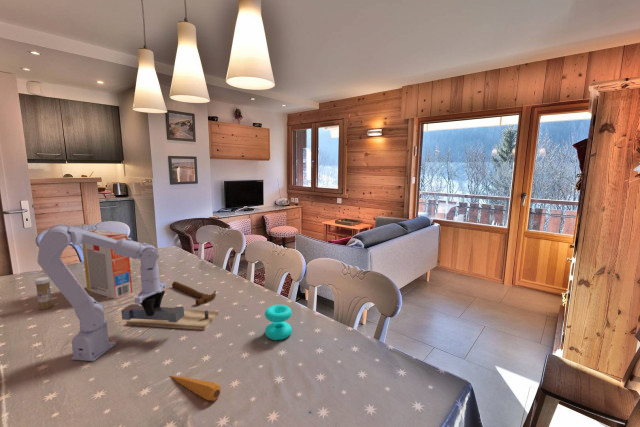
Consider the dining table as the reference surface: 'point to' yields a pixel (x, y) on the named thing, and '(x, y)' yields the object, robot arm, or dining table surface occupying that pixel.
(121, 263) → the pasta box
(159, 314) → the drawer pull handle
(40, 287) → the sprinkles bottle
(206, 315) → the oak board
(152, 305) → the robot arm
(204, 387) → the carrot
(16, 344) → the dining table surface
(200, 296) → the hammer
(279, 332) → the donuts
